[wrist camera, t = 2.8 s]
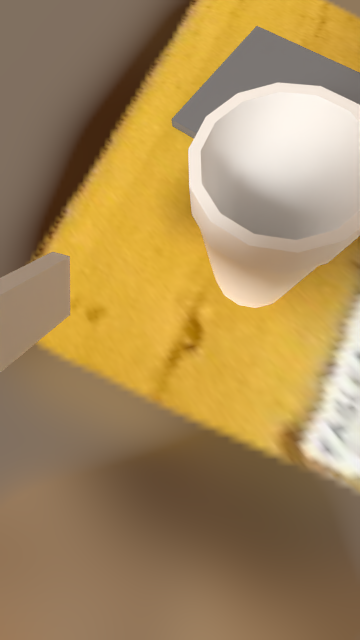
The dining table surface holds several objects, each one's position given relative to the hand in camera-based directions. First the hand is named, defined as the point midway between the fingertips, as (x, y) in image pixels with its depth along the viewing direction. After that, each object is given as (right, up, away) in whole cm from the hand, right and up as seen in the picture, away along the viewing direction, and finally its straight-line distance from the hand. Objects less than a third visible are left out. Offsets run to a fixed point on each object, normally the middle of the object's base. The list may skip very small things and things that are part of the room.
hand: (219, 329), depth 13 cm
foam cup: (+5, +4, +16) cm, 17 cm away
